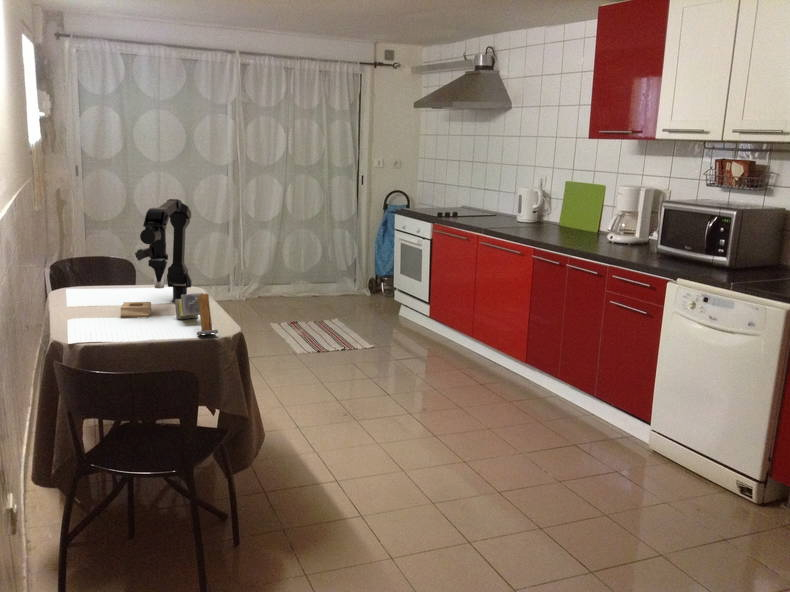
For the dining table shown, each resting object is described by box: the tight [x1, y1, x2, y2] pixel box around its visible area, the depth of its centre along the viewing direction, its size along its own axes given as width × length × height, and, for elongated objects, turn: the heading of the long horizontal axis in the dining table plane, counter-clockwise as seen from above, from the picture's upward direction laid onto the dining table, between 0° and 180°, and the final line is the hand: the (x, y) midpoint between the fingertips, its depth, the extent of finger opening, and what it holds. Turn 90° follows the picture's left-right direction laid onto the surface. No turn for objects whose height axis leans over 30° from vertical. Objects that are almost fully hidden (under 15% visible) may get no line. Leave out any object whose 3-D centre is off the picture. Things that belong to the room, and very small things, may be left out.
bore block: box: [120, 301, 152, 319], centre depth 268 cm, size 10×10×4 cm
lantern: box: [174, 292, 219, 336], centre depth 253 cm, size 8×17×30 cm
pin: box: [153, 270, 165, 289], centre depth 271 cm, size 4×4×8 cm
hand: (159, 281), depth 271 cm, fingers closed on pin, 4 cm apart
